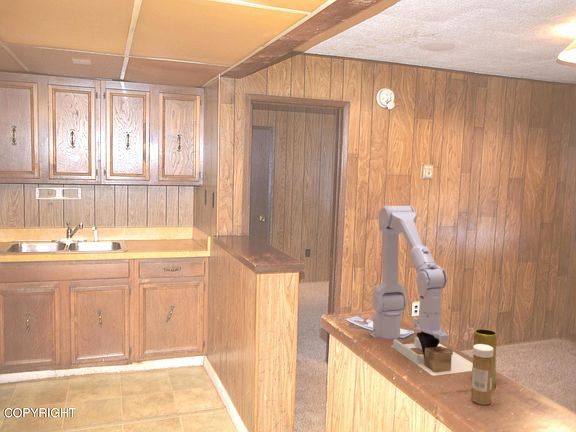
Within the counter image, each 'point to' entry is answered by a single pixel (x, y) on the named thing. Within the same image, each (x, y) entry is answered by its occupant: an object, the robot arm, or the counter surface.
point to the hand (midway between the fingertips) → (428, 358)
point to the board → (457, 363)
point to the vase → (489, 339)
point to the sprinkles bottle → (482, 374)
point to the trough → (408, 349)
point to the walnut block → (438, 359)
